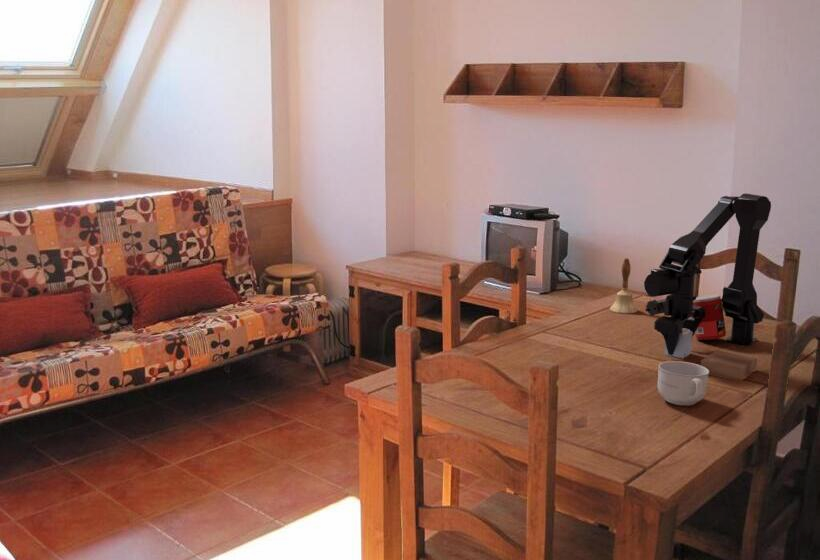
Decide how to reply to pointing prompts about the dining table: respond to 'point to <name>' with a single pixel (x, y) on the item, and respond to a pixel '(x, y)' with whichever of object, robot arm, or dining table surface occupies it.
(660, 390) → the teacup
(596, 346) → the dining table surface
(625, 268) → the hand bell
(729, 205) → the robot arm
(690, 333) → the white cube
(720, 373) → the wooden block
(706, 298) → the canned food
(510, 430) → the dining table surface
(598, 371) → the dining table surface
